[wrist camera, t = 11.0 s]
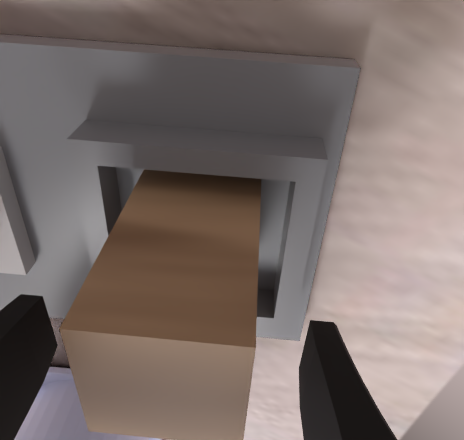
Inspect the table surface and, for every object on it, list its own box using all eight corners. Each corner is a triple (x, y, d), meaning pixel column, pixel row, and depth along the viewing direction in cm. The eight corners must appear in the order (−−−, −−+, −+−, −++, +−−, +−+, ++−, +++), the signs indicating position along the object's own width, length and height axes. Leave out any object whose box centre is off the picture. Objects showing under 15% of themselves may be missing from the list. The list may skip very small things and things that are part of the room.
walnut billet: (251, 266, 16) (242, 447, 11) (151, 256, 16) (88, 431, 11) (261, 177, 14) (255, 347, 8) (144, 167, 14) (59, 328, 8)
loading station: (298, 323, 19) (301, 369, 17) (-72, 289, 20) (-111, 330, 18) (354, 59, 13) (371, 83, 10) (-214, 19, 13) (-304, 34, 11)
